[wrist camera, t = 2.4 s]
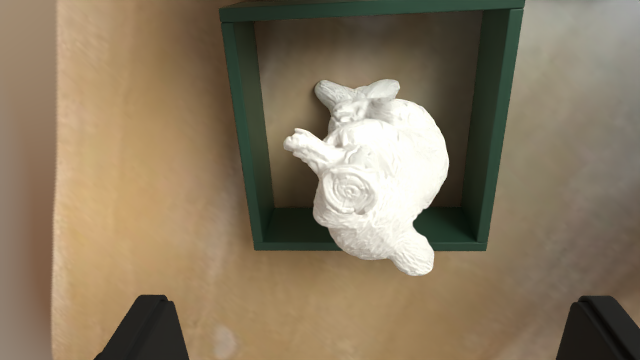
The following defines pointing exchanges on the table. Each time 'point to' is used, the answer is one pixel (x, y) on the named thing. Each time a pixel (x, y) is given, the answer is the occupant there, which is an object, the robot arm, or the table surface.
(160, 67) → the table surface
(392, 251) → the white squirrel figurine
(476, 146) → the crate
